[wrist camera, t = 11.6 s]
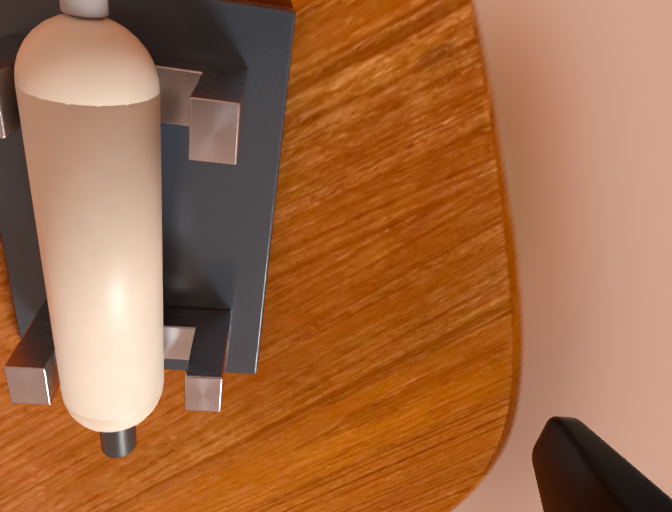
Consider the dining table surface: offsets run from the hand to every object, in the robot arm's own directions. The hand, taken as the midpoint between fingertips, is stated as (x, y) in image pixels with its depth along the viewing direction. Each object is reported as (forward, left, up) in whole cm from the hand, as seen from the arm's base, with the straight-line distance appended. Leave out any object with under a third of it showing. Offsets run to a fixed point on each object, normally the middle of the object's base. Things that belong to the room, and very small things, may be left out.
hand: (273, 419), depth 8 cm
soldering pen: (+4, +1, -10) cm, 11 cm away
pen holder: (+4, +3, -12) cm, 13 cm away
